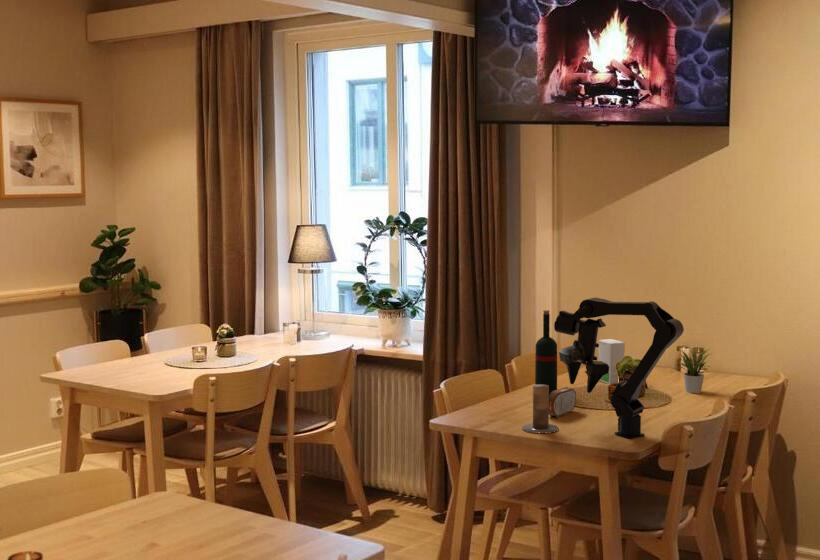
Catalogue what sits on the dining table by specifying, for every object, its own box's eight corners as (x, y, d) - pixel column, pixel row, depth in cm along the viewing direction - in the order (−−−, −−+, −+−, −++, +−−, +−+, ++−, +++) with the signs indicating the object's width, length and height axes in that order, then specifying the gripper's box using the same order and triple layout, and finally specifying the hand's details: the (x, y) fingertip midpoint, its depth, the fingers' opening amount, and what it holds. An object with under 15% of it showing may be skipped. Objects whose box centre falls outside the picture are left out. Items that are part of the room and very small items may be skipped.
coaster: (565, 430, 315) (565, 428, 315) (536, 435, 309) (536, 433, 309) (543, 423, 324) (543, 421, 324) (515, 427, 319) (515, 426, 319)
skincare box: (596, 380, 389) (597, 339, 387) (611, 378, 392) (611, 338, 390) (610, 384, 382) (610, 343, 380) (624, 382, 384) (625, 341, 383)
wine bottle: (562, 392, 369) (563, 309, 366) (552, 397, 360) (552, 312, 357) (542, 390, 373) (542, 307, 370) (531, 395, 364) (531, 311, 361)
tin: (569, 409, 343) (569, 384, 342) (577, 410, 341) (578, 385, 340) (545, 418, 331) (545, 392, 330) (553, 419, 329) (554, 393, 328)
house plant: (721, 389, 371) (722, 344, 369) (713, 397, 359) (714, 351, 357) (681, 386, 377) (682, 342, 376) (672, 393, 365) (673, 348, 363)
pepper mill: (551, 428, 316) (552, 386, 314) (539, 430, 313) (539, 388, 312) (542, 424, 320) (542, 383, 318) (529, 427, 317) (529, 385, 316)
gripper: (548, 331, 318) (541, 380, 321) (582, 346, 302) (575, 397, 304) (578, 331, 323) (571, 379, 326) (613, 346, 306) (606, 397, 309)
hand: (580, 388), depth 316 cm, fingers open, 9 cm apart
